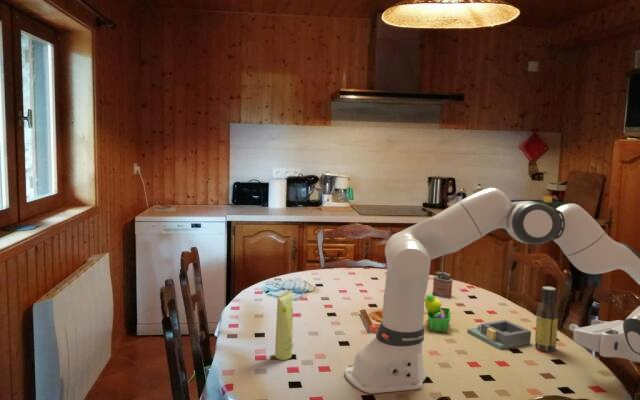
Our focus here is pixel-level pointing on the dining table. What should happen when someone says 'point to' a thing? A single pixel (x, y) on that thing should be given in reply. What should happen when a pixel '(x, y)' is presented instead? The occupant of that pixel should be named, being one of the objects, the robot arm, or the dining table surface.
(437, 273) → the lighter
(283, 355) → the tube
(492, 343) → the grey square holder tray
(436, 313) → the fruit basket
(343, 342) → the dining table surface
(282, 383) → the dining table surface
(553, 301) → the sauce bottle
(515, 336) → the socket
